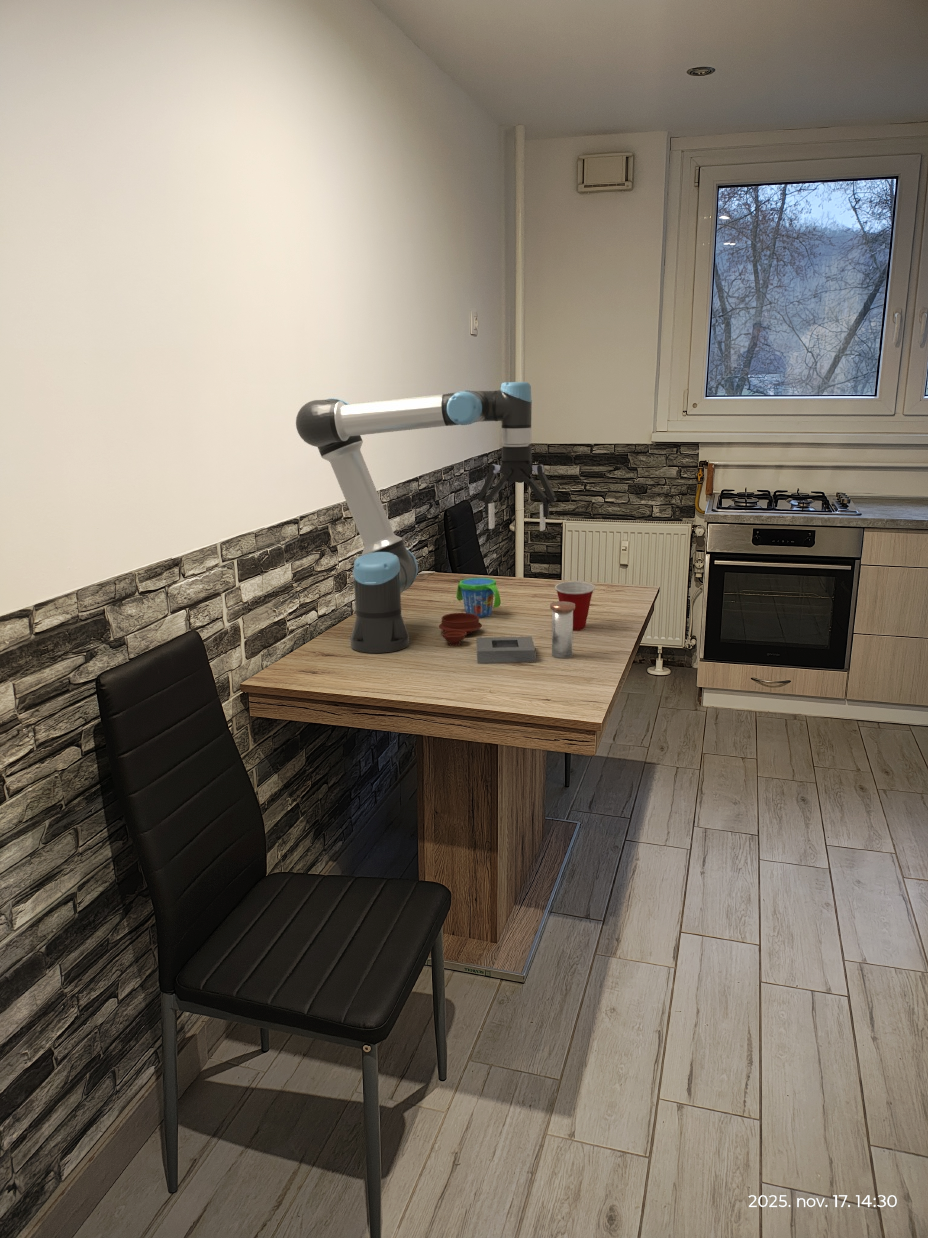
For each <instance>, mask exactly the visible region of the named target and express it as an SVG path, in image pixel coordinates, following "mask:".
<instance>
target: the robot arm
mask: <svg viewBox="0 0 928 1238" xmlns="http://www.w3.org/2000/svg"><path fill="white" fill-rule="evenodd" d="M500 386H501V387H500V389H497V390H462V391H457V392H450V393H442V394H441V393H440V394H432V395H431V394H430V395H423V396H415V397H406V398H395V399H388V400H386V399H385V400H377V401H370V402H369V401H368V402H361V403H360V402H358V403H351V404H350V403H349V402H347V401H345V400H341V399H339V398H328V399H314V400H311V401H309V402H306V403H305V404H304V405H302V406H301V407H300V408H299V411H298V412H297V415H296V418H295V427H296V432H297V433H298V435H299V436H300V438H301V440H303V442H304V443H306V444H307V445H309V446H312V447H317V449H318V452H319V455H320V457H321V458H322V459H323V460H325V461H327V462H329V463H330V466H331V468H332V470H333V473H334V475H335V478H336V480H337V483H338V486H339V488H340V490H341V492H342V494H343V497H344V500H345V502H346V504H347V508H348V509H349V511H350V514H351V517H352V518H353V521H354V524H355V527H356V529H357V531H358V535H359V536H360V539H361V541H362V543H363V547H364V548H363V551H362V552H361V555H360V556H358V557H357V558H356V559H355V560H354V562H353V570H352V576H353V585H354V603H355V604H354V605H355V621H354V625H353V629H352V632H351V636H350V648H351V649H352V650H355V651H356V652H359V653H369V654H382V653H392V652H397V651H400V650H403V649H405V648H407V647H408V646H409V645H410V636H409V633H408V630H407V627H406V624H405V622H404V618H403V615H402V602H401V601H402V600H401V599H402V598H401V594H402V593H403V592H405V591H407V590H408V589H409V588H411V586H412V585H413V584H414V582H415V580H416V579H417V575H418V572H419V569H418V568H419V567H418V560H417V558H416V556H415V555H414V553H412V552H411V551H410V550H409V549H407V547H406V544H405V541H404V540H403V538H402V537H401V536H398V535H396V534H395V533H394V531H393V527H392V525H391V523H390V521H389V517H388V515H387V513H386V511H385V508H384V505H383V503H382V501H381V498H380V495H379V494H378V491H377V488H376V486H375V483H374V481H373V479H372V476H371V474H370V471H369V468H368V467H367V463H366V462H365V458H364V457H363V454H362V451H361V449H362V446H363V443H364V440H363V439H362V436H364V435H374V434H382V433H394V432H401V431H402V432H403V431H404V432H405V431H412V430H422V429H423V430H424V429H431V428H437V427H438V428H441V427H448V426H451V427H452V426H467V425H472V424H474V423H479V422H481V423H483V422H500V423H501V444H502V445H503V446H502V447H501V465H498V464H496V463H493V464H490V465H489V468H488V469H489V470H488V473H487V474H488V475H487V477H486V479H485V482H484V483H483V486H482V487H481V490H480V492H479V494H478V497H477V500H478V501H480V502H483V503H484V514H485V516H488V530H492V529H494V528H495V524H496V523H495V502H492V501H493V500H494V498H495V497H496V496H497V494H499V492H500V491H501V489H503V487H505V485H506V484H507V483H510V484H511V483H518V484H523V483H525V484H526V485H527V486H528V487H529V488H530V489H531V491H532V492H533V493H534V495H535V496H536V497H537V498H538V500H540V501H541V502H542V503H541V504H540V505H539V531H540V532H543V531H545V530H546V518H548V517H549V515H550V504H551V503H554V502H556V501H557V500H558V499H557V497H556V496H557V495H556V494H555V492H554V490H553V488H552V486H551V483H550V481H549V479H548V477H547V475H546V471H545V466H544V464H539V465H533V463H532V446H531V445H530V444H532V411H533V410H532V409H533V408H532V406H533V405H532V403H533V400H532V387H531V384H530V383H529V382H528V381H514V382H513V381H512V382H511V381H508V382H507V381H506V382H502V383H501V385H500ZM533 471H534V472H535V474H536V475H537V477H538V479H539V481H540V484H541V485H542V487H543V490H544V491H545V493H546V494H545V493H544V491H543V490H542V489H541V487H540V486H539V485H538V484H537V483H536V481H535V480H534V478H533V477H532V476H531V475H532V473H533ZM499 472H501V474H502V475H503V476H502V477H501V478H500V479H499V481H498V482H497V484H496V485H495V486H494V487H493V489H492V490H491V491H490V493H489V494H488V492H489V490H490V488H491V487H492V484H493V481H494V480H495V478H496V475H497V473H498V474H499Z"/></svg>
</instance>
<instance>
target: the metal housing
mask: <svg viewBox="0 0 928 1238" xmlns="http://www.w3.org/2000/svg"><path fill="white" fill-rule="evenodd" d="M475 639H476V663H477V664H502V663H503V664H504V663H505V664H506V663H508V664H509V663H518V664H519V663H536V647H535V643H534V640H533V636H498V637H497V636H493V637H491V636H490V637H485V636H484V637H476V638H475Z"/></svg>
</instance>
